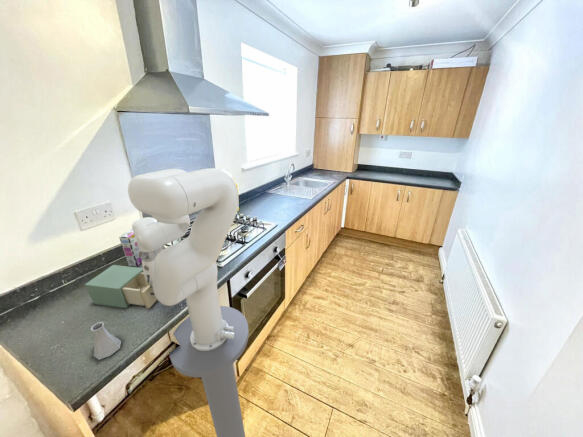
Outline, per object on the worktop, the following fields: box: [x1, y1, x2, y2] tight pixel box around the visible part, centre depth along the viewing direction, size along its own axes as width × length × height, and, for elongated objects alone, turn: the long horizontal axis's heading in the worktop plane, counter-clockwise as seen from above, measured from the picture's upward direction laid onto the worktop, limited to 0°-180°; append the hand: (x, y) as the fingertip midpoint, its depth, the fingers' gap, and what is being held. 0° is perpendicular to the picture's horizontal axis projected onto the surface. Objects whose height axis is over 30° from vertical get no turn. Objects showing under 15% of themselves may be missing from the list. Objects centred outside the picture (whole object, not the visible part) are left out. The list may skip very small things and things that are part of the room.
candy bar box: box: [118, 228, 142, 268], centre depth 115 cm, size 11×5×16 cm, turn 177°
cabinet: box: [84, 264, 143, 309], centre depth 94 cm, size 15×13×10 cm
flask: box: [90, 321, 122, 361], centre depth 72 cm, size 7×7×10 cm
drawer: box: [121, 272, 158, 309], centre depth 92 cm, size 20×11×8 cm, turn 81°
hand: (165, 291), depth 91 cm, fingers closed
